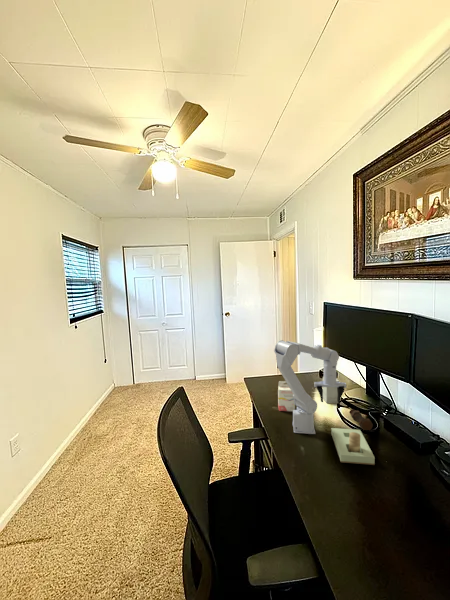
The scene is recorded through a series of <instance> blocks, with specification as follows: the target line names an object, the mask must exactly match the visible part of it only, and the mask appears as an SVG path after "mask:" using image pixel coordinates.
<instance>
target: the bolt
mask: <svg viewBox="0 0 450 600" xmlns="http://www.w3.org/2000/svg"><path fill="white" fill-rule="evenodd" d="M361 413H362V412H360V410H355V409H354V408H353V409H350V410H349V415H350V417H351V418H352V419H353V420H354V421H357V422H358V424H359V426H360V429H361V430H362V429H363V430H362V431H364V430H369V431H371V430H372V428H373V426H374V425H373V423H372V420H371V419H370V418H365V417H364V416H362V415H363V414H361Z"/></svg>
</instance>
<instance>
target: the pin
mask: <svg viewBox="0 0 450 600" xmlns="http://www.w3.org/2000/svg"><path fill="white" fill-rule="evenodd" d="M349 452H356V453H360V434H358V433H355V432H351V433H349Z"/></svg>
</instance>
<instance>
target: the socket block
mask: <svg viewBox="0 0 450 600" xmlns="http://www.w3.org/2000/svg"><path fill="white" fill-rule="evenodd" d="M330 430H331V433H330V434H331V436H332V437H331V438H332V441H333V443H334V446H335V450H336V452H337V455H338V458H339V461H340V463H344V464H345V463H346V464H358V465H359V464H360V465H371V466H375V464H376V463H375V459H376V458H375V455H374V454H373V451H372V450H371V448H370V446H369V444H368V442H367V440H366V438H365V436H364V435H363V432H362V431H361V429H355V428H337V427H331V428H330ZM351 432H355V433H358V434H360V453H356V452H349V433H351Z"/></svg>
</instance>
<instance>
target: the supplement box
mask: <svg viewBox="0 0 450 600" xmlns="http://www.w3.org/2000/svg"><path fill="white" fill-rule="evenodd" d="M322 381H324V376H322ZM336 382H340V380H339V379H338V378H337V377H336ZM322 389H323V401H324V402H325V403H326V404H339V403H338V401H337V396H338V392H337V387H322Z"/></svg>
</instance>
